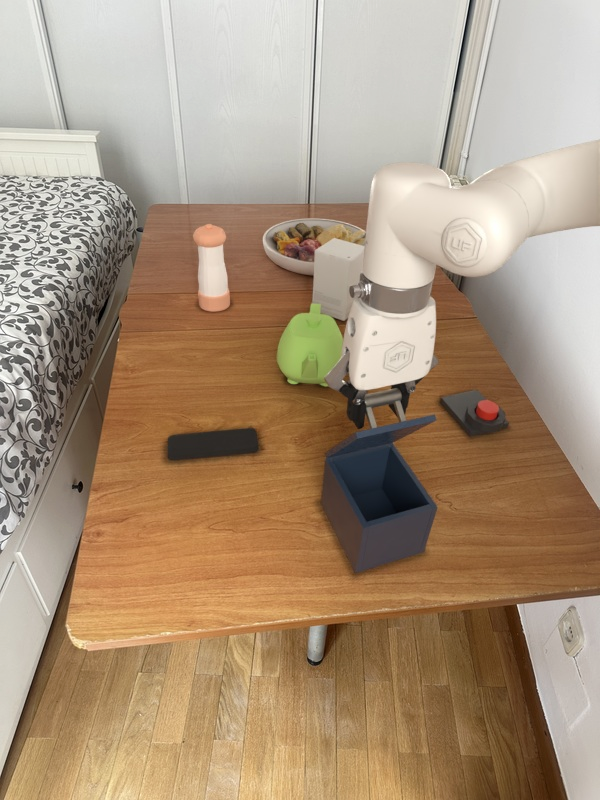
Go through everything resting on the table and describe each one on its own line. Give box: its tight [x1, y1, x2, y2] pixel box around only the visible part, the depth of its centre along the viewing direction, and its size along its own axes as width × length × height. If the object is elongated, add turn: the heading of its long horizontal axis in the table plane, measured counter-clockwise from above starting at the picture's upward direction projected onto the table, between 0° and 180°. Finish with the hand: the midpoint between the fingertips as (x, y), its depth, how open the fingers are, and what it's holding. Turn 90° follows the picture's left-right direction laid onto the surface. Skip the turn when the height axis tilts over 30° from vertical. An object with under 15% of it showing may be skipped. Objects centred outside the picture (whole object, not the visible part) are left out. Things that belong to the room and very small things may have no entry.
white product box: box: [311, 238, 365, 322], centre depth 122 cm, size 9×9×15 cm
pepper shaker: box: [192, 223, 231, 312], centre depth 120 cm, size 7×7×19 cm
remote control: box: [166, 427, 260, 462], centre depth 89 cm, size 5×2×15 cm
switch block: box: [439, 389, 510, 437], centre depth 97 cm, size 11×8×3 cm
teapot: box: [276, 302, 344, 387], centre depth 103 cm, size 20×13×13 cm
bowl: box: [262, 217, 366, 277], centre depth 146 cm, size 30×30×8 cm
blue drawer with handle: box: [324, 388, 437, 458], centre depth 71 cm, size 13×11×5 cm
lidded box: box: [320, 443, 439, 574], centre depth 75 cm, size 13×11×10 cm
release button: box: [476, 399, 500, 421], centre depth 94 cm, size 4×4×2 cm
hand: (376, 415), depth 69 cm, fingers closed on blue drawer with handle, 5 cm apart
